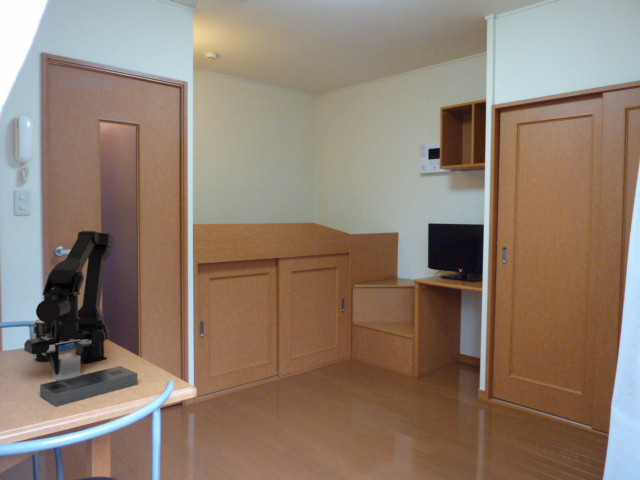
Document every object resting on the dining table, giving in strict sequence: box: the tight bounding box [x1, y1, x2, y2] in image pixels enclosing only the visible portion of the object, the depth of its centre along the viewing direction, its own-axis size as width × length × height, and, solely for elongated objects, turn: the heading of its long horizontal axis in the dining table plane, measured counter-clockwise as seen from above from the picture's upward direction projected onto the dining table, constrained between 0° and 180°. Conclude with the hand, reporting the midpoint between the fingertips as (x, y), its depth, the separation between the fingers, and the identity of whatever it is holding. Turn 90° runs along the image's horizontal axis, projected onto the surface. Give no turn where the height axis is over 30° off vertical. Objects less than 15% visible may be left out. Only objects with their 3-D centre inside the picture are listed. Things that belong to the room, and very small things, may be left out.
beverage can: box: [32, 318, 60, 363], centre depth 147 cm, size 7×7×12 cm
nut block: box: [52, 352, 82, 381], centre depth 130 cm, size 5×5×6 cm
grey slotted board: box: [39, 365, 138, 407], centre depth 121 cm, size 20×9×3 cm, turn 140°
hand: (66, 372), depth 130 cm, fingers closed on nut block, 5 cm apart
